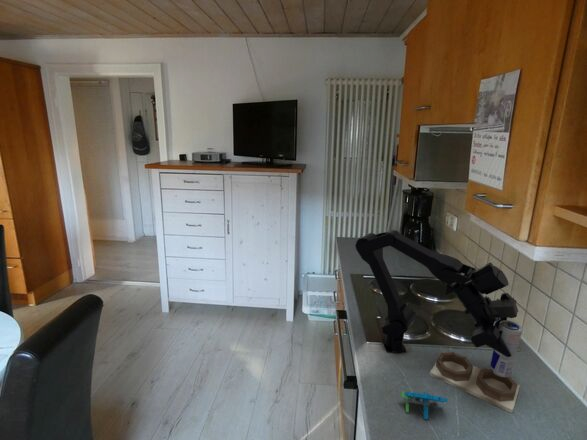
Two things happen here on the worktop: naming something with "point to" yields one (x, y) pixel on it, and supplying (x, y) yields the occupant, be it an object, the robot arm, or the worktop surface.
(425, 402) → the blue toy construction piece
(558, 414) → the worktop surface
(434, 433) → the worktop surface
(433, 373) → the socket plate
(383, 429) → the worktop surface
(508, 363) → the beverage can
